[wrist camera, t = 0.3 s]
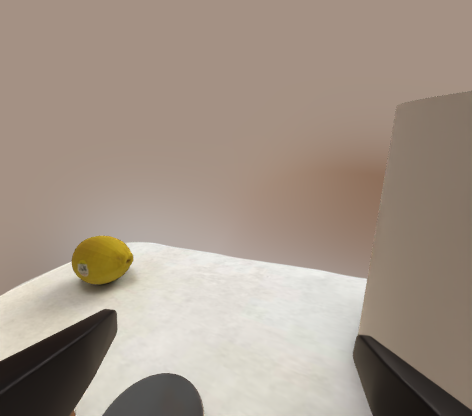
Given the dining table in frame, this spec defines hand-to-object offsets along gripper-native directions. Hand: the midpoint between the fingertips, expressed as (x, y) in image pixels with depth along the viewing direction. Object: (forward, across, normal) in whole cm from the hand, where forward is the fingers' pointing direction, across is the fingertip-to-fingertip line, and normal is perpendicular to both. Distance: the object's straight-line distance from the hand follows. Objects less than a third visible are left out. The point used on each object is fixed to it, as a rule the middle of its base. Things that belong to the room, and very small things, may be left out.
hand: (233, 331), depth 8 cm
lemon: (+27, +22, +16) cm, 39 cm away
